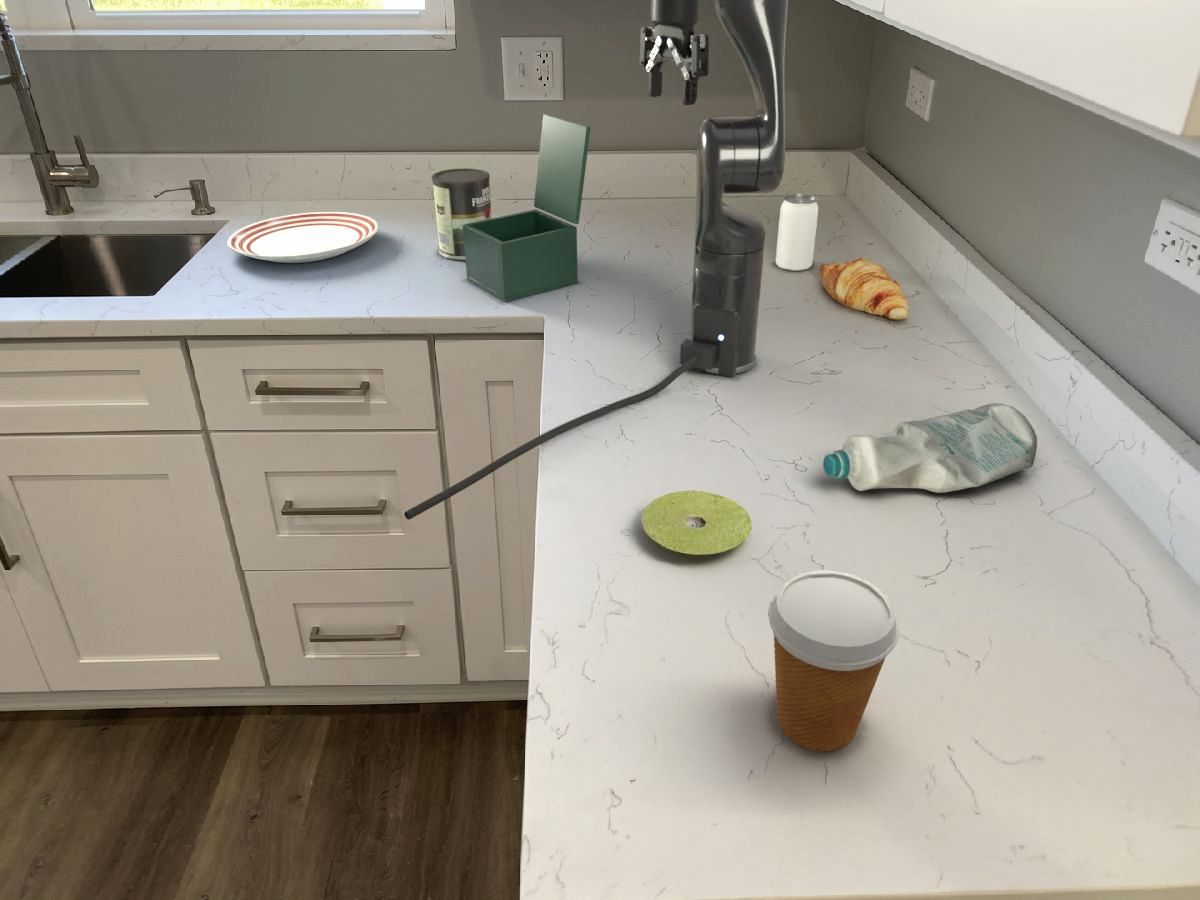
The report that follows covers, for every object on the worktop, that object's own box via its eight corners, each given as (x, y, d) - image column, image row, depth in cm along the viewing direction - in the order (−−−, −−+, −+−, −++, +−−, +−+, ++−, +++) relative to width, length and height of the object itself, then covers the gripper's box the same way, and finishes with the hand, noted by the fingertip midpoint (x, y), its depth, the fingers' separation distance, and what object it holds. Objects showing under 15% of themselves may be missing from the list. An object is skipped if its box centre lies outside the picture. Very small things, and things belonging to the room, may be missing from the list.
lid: (586, 127, 146) (590, 127, 147) (543, 114, 155) (547, 114, 155) (574, 224, 153) (578, 224, 153) (533, 206, 161) (537, 206, 162)
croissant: (915, 341, 145) (942, 295, 142) (875, 324, 139) (903, 276, 137) (829, 294, 161) (852, 252, 159) (791, 277, 155) (814, 233, 153)
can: (810, 259, 168) (817, 193, 161) (813, 272, 162) (821, 204, 156) (774, 258, 168) (780, 192, 162) (776, 271, 163) (782, 203, 156)
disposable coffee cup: (803, 786, 69) (822, 668, 63) (734, 700, 76) (745, 586, 70) (903, 742, 72) (930, 626, 66) (828, 664, 80) (846, 553, 73)
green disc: (691, 492, 103) (692, 478, 102) (772, 536, 96) (774, 521, 95) (618, 534, 96) (619, 518, 95) (700, 584, 89) (701, 568, 88)
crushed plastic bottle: (981, 431, 114) (794, 455, 108) (998, 381, 109) (805, 404, 104) (1049, 496, 103) (847, 527, 98) (1070, 444, 99) (860, 473, 93)
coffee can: (503, 245, 175) (499, 170, 168) (478, 263, 167) (472, 185, 160) (456, 239, 178) (449, 165, 171) (428, 256, 170) (420, 179, 163)
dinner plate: (198, 264, 167) (193, 246, 166) (287, 220, 190) (284, 204, 188) (329, 280, 160) (326, 261, 158) (406, 232, 182) (404, 216, 180)
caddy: (504, 302, 151) (501, 244, 146) (466, 280, 160) (462, 224, 155) (577, 282, 158) (576, 226, 153) (537, 262, 167) (535, 209, 162)
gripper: (627, -13, 145) (626, 96, 153) (687, -6, 135) (682, 110, 143) (664, -16, 148) (661, 91, 157) (725, -9, 139) (718, 104, 147)
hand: (671, 100), depth 150 cm, fingers open, 8 cm apart
